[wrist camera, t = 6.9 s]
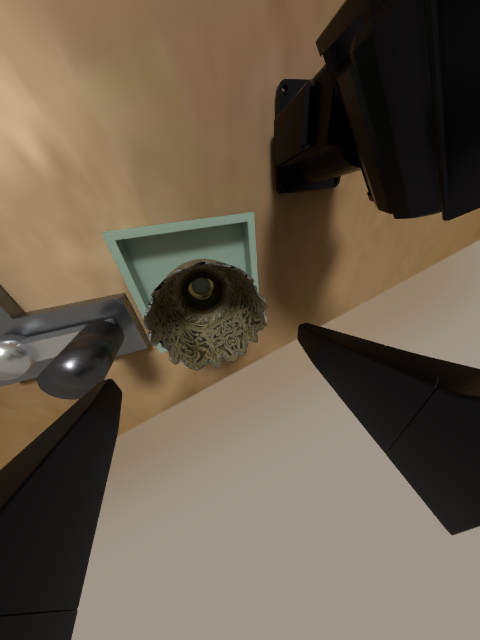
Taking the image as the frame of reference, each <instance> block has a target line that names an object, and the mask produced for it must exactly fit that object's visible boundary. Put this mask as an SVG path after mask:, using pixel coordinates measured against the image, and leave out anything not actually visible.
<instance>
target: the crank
mask: <svg viewBox="0 0 480 640" xmlns="http://www.w3.org/2000/svg"><path fill="white" fill-rule="evenodd" d="M123 341H124V333H123V331H122V329H121V328H120V327H119V326H117V325H116V324H115V322H114V320H113V319H108V320H103V321H93V322H90V323H88V324H85V325H81V326H76V327H72V328H67V329H62V330H58V331H53V332H49V333H44V334H40V335H35V336H31V337H25V336H21V335H11V334H10V335H3V336H0V380H11V379H15V378H18V377H20V376H22V375H23V374H24V373H25V372H26V371H27V370H28V369H29V368H30V367H31V366H32V365H34V364H35V363H36V362H37V361H41V360H45V359H49V358H53V357H55V358H54V359H53V360H52V361H51V362H50V363H49V364H48V366H47V367H46V368H45V369H44V370H43V371H42V372H41V373H40V374H39V376H38V379H37V382H38V385H39V387H40V388H41V389H42V390H43V391H44V392H45V393H47V394H49V395H51V396H54V397H57V398H62V399H81V398H82V397H83V396H84V395H85V394H86V393H87V392H88V391H89V390H91V389H92V388H93V387H94V386H95V385H96V384H97V383H99V382H100V381H103V380H104V379H105V377H106V375H107V373H108V371H109V369H110V367H111V365H112V363H113V361H114V359H115V357H116V355H117V353H118V351H119V349H120V347H121V345H122V343H123Z"/></svg>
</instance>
